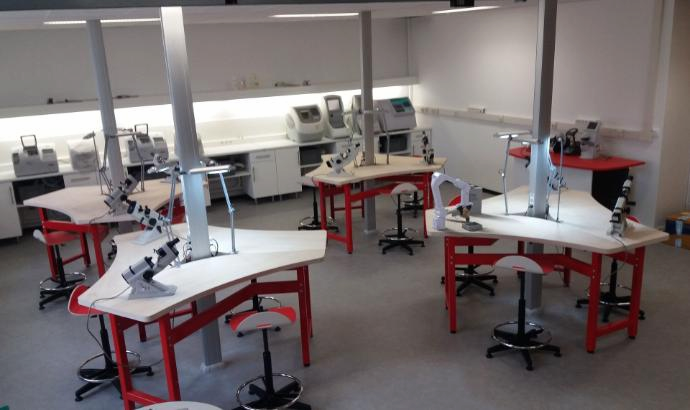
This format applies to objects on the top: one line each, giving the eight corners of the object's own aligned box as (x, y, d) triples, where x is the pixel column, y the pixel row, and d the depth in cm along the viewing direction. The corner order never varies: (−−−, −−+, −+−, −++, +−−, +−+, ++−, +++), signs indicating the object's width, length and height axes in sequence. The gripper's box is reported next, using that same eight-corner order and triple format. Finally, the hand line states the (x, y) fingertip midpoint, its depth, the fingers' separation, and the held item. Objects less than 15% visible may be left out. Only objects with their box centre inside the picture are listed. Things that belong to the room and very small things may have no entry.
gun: (469, 221, 458) (463, 204, 458) (440, 230, 472) (433, 213, 472) (471, 220, 463) (465, 202, 462) (442, 228, 477) (436, 212, 476)
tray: (469, 231, 436) (469, 226, 435) (461, 227, 445) (461, 223, 444) (482, 229, 440) (482, 224, 439) (474, 225, 449) (475, 221, 449)
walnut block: (463, 218, 448) (463, 210, 446) (459, 216, 452) (460, 209, 451) (468, 217, 450) (469, 210, 448) (465, 215, 454) (465, 208, 453)
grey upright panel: (461, 214, 482) (462, 185, 476) (460, 213, 487) (461, 184, 481) (482, 214, 482) (483, 185, 476) (480, 212, 487) (481, 184, 481)
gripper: (459, 200, 441) (459, 217, 444) (475, 198, 446) (475, 214, 450) (454, 198, 447) (454, 214, 451) (470, 196, 453) (470, 212, 456)
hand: (464, 214), depth 451 cm, fingers closed on walnut block, 5 cm apart
